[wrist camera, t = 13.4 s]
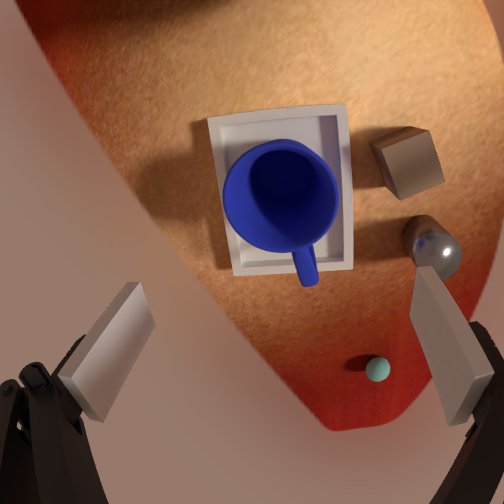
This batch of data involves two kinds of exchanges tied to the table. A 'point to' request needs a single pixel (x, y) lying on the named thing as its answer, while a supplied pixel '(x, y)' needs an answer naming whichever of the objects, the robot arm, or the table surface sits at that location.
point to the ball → (377, 369)
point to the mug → (282, 201)
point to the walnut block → (408, 161)
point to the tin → (431, 246)
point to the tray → (315, 138)
